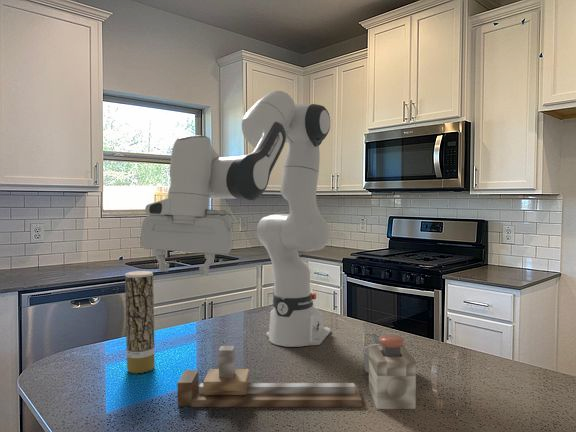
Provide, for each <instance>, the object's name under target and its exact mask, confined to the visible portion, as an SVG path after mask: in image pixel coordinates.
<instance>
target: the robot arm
mask: <svg viewBox="0 0 576 432" xmlns="http://www.w3.org/2000/svg"><path fill="white" fill-rule="evenodd" d="M330 129H331V118H330V113H329V111H328V109H327V108H326V107H325V106H324V105H321V104H317V103H316V104H314V103H311V104H303V103H302V104H296V103H295V101H294V99H293V98H292V97H291V94H288V93H287V92H286V91H283V90H273V91H271V92H269V93H267V94H266V95H264V96H263V97H261V98H260V99H258V101H256V103H254V104H253V105H252V106H251V107H250V108H249V109H248V110H247V112H246V113H245V114H244V115H243V118H242V121H241V131H242V135H243V136H244V139H245V140H246V141H247V142H248V143H249V144H250V145H251V146H252V147H253V148H254V150H253V151H252V152H250V153H248V154H247V153H246V154H242V155H235V156H233V155H232V156H231V155H230V156H222V155H221V154H219V153H218V152H217V151H216V150H215V149H214V148H213V146H212V142H211V138H210V137H209V136H207V135H206V136H205V135H197V134H196V135H184V136H180V137H178V138H176V140H175V142H174V144H173V147H172V150H171V156H170V162H169V163H170V164H169V177H170V185H169V188H168V191H167V198H164V199H162V200H159V201H155V202H152V203H148V204H146V206H145V210H144V211H145V212H144V213H145V214H146V215H147V216H145V217H144V219H143V221H142V223H141V228H140V229H141V230H140V237H139V244H140V246H141V248H143V249H144V250H145V249H146V250H155V251H154V256H155V258H156V260H157V262H158V271H159V272H164V273H165V272H166V273H167V272H169V270H170V268H169V267H170V263H167V262H166V259H165V256H166V254H167V252H166V251H170V252H171V251H174V252H185V253H186V252H188V253H200V254H201V253H202V254H203V253H204V259H206V260H205V262H204V263H203V265H199V267H198V269H199V271H198V274H199V275H201V276H202V275H203V276H208V275H209V274H210V272H209V271H210V266H211V265H212V264H213V262H214V260H215V258H216V256H215V255H218V254H219V255H228V254H229V253H230V252H231V251H232V247H233V246H232V228H233V220H234V219H233V216H232V214H230V212H228V211H227V210H224V209H221V210H215V209H210V199H223V200H224V199H226V200H228V199H235V200H236V199H238V200H246V201H255V200H257V199H258V198H260V197H261V196H262V195H263V193H264V192H265V191H266V189H267V188H268V185H269V181H270V176H271V173H272V171H273V169H274V167H275V165H276V163H277V161H278V159H279V158H280V155H281V154H282V152H283V149H284V147H285V145H286V144H285V143H288V148H287V151H286V155H285V159H284V164H283V170H282V177H281V184H280V194H281V196H282V198H283V199H284V200H286V201H287V202H288V208H289V213H274V214H269V215H266V216H263V217H262V218H261V219H260V220H259V222H258V224H257V226H256V227H257V228H256V237H257V239H258V241H259V242H260V244H262V245H263V246H264V248H265V250H266V251H267V253H268V256H269V258H270V259H269V260H271V265H272V270H273V282H274V283H273V284H274V285H273V286H274V287H273V289H274V294H273V296H272V307H273V308H272V309H271V311H270V317H269V326H268V327H269V329H268V331H267V332H266V333H265V336H266V337H267V338H268V340H269V342H270V343H272V344H273V345H276V346H281V347H290V348H291V347H292V348H293V347H294V348H295V347H298V348H299V347H305V346H319V345H321V344H322V343H323V341H324V340H325V339H326V338H327V337H328V336H329V334H330V333H331V332H332V331H331V330H332V329H331V328H330V327H328V326H324V316H323V315H324V314H323V313H321V312H320V311H319V310H318V309H317V308H316V307H315V306H314V301H315V300H316V299H317V293H316V292H313V293H312V292H311V270H310V268H309V266H308V265H307V264H306V263H304V261H303V260H302V258H301V257H300V255H299V252H314V251H319V250H322V249H324V248H325V247H326V246H327V244H328V243H329V241H330V236H331V230H330V226H329V224H328V222H327V221H326V219H325V218H324V217H323V216H322V215H321V213H320V210H319V207H318V203H317V188H318V179H319V172H320V171H319V170H320V164H321V163H320V160H321V157H320V155H321V154H320V153H321V152H320V145H321V144H322V142H323V141H324V140H325V139H326V138H327V136H328V134H329V132H330Z"/></svg>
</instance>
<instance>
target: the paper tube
mask: <svg viewBox="0 0 576 432" xmlns="http://www.w3.org/2000/svg"><path fill="white" fill-rule="evenodd" d="M124 278H125V279H124V280H125V281H124V282H125V283H124V287H125V293H124V294H125V327H126V328H125V330H126V331H125V332H126V333H125V334H126V335H125V337H126V339H125V340H126V342H125V343H126V369H127V372H128V373H131V374H138V373H140V374H145V373H144V372H146V373H149V372H151V371H153V369H154V368H155V363H156V362H155V361H156V360H155V303H154V300H155V299H154V295H155V294H154V271H149V270H136V271H129V272H126V273H125V276H124ZM148 371H149V372H148Z"/></svg>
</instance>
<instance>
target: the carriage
mask: <svg viewBox="0 0 576 432" xmlns="http://www.w3.org/2000/svg"><path fill="white" fill-rule="evenodd" d="M235 363H236V362H235V345H220V347H219V349H218V368H209V369H208V371H207V373H206V376H205V377H204V380H203V382H202V383H203V391H205V395H247V384H248V383H250V382H249V379H250V368H235V365H236V364H235Z"/></svg>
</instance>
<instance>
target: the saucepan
mask: <svg viewBox="0 0 576 432" xmlns="http://www.w3.org/2000/svg"><path fill="white" fill-rule="evenodd" d="M371 337H372V339H373V340H374V342H375V343H374V344H369V345H366V346H364V347H363V348H362V352H363V368H364V371H365V372H366V373H368V374H369V346H381V345H380V344H379V337H378V336H377V333H372V334H371ZM407 351H408V352H409V353H410V351H409V350H408V349H407Z"/></svg>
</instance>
